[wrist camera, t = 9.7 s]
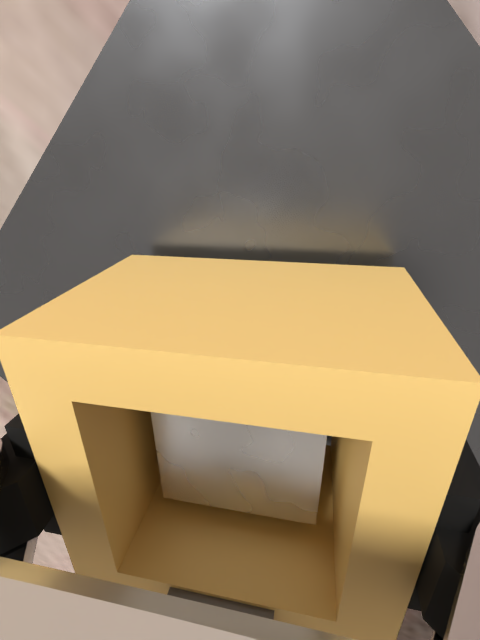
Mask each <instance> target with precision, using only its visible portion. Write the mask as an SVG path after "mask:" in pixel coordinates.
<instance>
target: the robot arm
mask: <svg viewBox="0 0 480 640" xmlns="http://www.w3.org/2000/svg"><path fill="white" fill-rule="evenodd" d="M5 429H6V431H7V434H6V435H4V436H3V437H2V438H1V439H0V640H356V639H352V638H348V637H344V636H339V635H335V634H331V633H327V632H323V631H318V630H314V629H310V628H306V627H302V626H297V625H293V624H289V623H285V622H281V621H276V620H272V619H268V618H264V617H260V616H255V615H251V614H247V613H243V612H238V611H234V610H230V609H226V608H222V607H217V606H213V605H209V604H205V603H200V602H196V601H192V600H187V599H183V598H179V597H174V596H170V595H166V594H162V593H157V592H153V591H149V590H144V589H140V588H136V587H131V586H127V585H123V584H118V583H114V582H110V581H105V580H101V579H97V578H92V577H88V576H84V575H79V574H75V573H71V572H66V571H62V570H57V569H53V568H49V567H44V566H40V565H35V564H32V563H33V558H34V553H35V548H36V544H37V539H38V536H39V535H40V533H41V532H42V531H43V529H44V530H45V532H50V533H55V534H60V535H62V534H61V531H60V528H59V525H58V522H57V519H56V517H55V514H54V511H53V508H52V505H51V502H50V500H49V497H48V494H47V491H46V488H45V485H44V483H43V480H42V477H41V474H40V471H39V468H38V466H37V463H36V460H35V457H34V454H33V451H32V449H31V446H30V443H29V440H28V437H27V434H26V432H25V429H24V426H23V423H22V420H21V417H20V415H19V414H18V415H17V416H16V417H14V418H13V419H12V420H11V421H10V422H9V423H8V424H6V425H5ZM407 608H410V609H414V610H419V611H422V616H423V619H424V620H425V621H426V622H427V623H428V624H429V625H430V626H431V627H432V629H433V630H434V631H433V634H432V637H431V640H480V466H479V464H478V462H477V460H476V458H475V456H474V454H473V452H472V450H471V448H470V446H469V444H468V442H467V440H466V441H465V444H464V447H463V449H462V452H461V455H460V458H459V461H458V464H457V467H456V469H455V472H454V475H453V478H452V481H451V484H450V487H449V490H448V492H447V495H446V498H445V501H444V504H443V507H442V510H441V512H440V515H439V518H438V521H437V524H436V527H435V530H434V533H433V535H432V538H431V541H430V544H429V547H428V550H427V553H426V555H425V558H424V561H423V564H422V567H421V570H420V573H419V576H418V578H417V581H416V584H415V587H414V590H413V593H412V596H411V598H410V601H409V604H408V607H407Z"/></svg>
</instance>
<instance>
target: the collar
mask: <svg viewBox="0 0 480 640" xmlns="http://www.w3.org/2000/svg"><path fill="white" fill-rule="evenodd" d="M0 361H1V364H2V367H3V369H4V372H5V375H6V378H7V381H8V384H9V386H10V389H11V392H12V395H13V398H14V400H15V403H16V406H17V409H18V412H19V415H20V417H21V420H22V423H23V426H24V429H25V432H26V434H27V437H28V440H29V443H30V446H31V449H32V451H33V454H34V457H35V460H36V463H37V466H38V468H39V471H40V474H41V477H42V480H43V483H44V485H45V488H46V491H47V494H48V497H49V500H50V502H51V505H52V508H53V511H54V514H55V517H56V519H57V522H58V525H59V528H60V531H61V534H62V536H63V539H64V542H65V545H66V548H67V551H68V553H69V556H70V559H71V562H72V565H73V568H74V570H75V573H76V574H79V575H84V576H88V577H92V578H97V579H101V580H105V581H110V582H114V583H118V584H123V585H127V586H131V587H136V588H140V589H144V590H149V591H153V592H157V593H162V594H166V595H170V596H174V597H179V598H183V599H187V600H192V601H196V602H200V603H205V604H209V605H213V606H217V607H222V608H226V609H230V610H234V611H238V612H243V613H247V614H251V615H255V616H260V617H264V618H268V619H272V620H276V621H281V622H285V623H289V624H293V625H297V626H302V627H306V628H310V629H314V630H318V631H323V632H327V633H331V634H335V635H339V636H344V637H348V638H352V639H356V640H396V639H397V636H398V633H399V630H400V627H401V624H402V621H403V618H404V616H405V613H406V610H407V607H408V604H409V601H410V598H411V596H412V593H413V590H414V587H415V584H416V581H417V578H418V576H419V573H420V570H421V567H422V564H423V561H424V558H425V555H426V553H427V550H428V547H429V544H430V541H431V538H432V535H433V533H434V530H435V527H436V524H437V521H438V518H439V515H440V512H441V510H442V507H443V504H444V501H445V498H446V495H447V492H448V490H449V487H450V484H451V481H452V478H453V475H454V472H455V469H456V467H457V464H458V461H459V458H460V455H461V452H462V449H463V447H464V444H465V441H466V438H467V435H468V432H469V429H470V426H471V424H472V421H473V418H474V415H475V412H476V409H477V406H478V404H479V401H480V375H479V374H478V372H477V371H476V369H475V368H474V367H473V365H472V364H471V362H470V361H469V359H468V358H467V357H466V355H465V354H464V352H463V351H462V349H461V348H460V347H459V345H458V344H457V342H456V341H455V339H454V338H453V337H452V335H451V334H450V332H449V331H448V329H447V328H446V327H445V325H444V324H443V322H442V321H441V319H440V318H439V317H438V315H437V314H436V312H435V311H434V309H433V308H432V307H431V305H430V304H429V302H428V301H427V299H426V298H425V297H424V295H423V294H422V292H421V291H420V289H419V288H418V286H417V285H416V284H415V282H414V281H413V279H412V278H411V276H410V275H409V274H408V272H407V271H406V269H405V268H404V267H383V266H361V265H340V264H319V263H298V262H276V261H255V260H234V259H213V258H191V257H170V256H149V255H131V256H129V257H127V258H125V259H124V260H122V261H120V262H118V263H116V264H115V265H113V266H111V267H109V268H108V269H106V270H104V271H102V272H101V273H99V274H97V275H95V276H94V277H92V278H90V279H88V280H86V281H85V282H83V283H81V284H79V285H78V286H76V287H74V288H72V289H71V290H69V291H67V292H65V293H64V294H62V295H60V296H58V297H57V298H55V299H53V300H51V301H49V302H48V303H46V304H44V305H42V306H41V307H39V308H37V309H35V310H34V311H32V312H30V313H28V314H27V315H25V316H23V317H21V318H19V319H18V320H16V321H14V322H12V323H11V324H9V325H7V326H5V327H4V328H2V329H0ZM151 412H155V413H163V414H170V415H178V416H185V417H193V418H200V419H208V420H215V421H223V422H230V423H238V424H245V425H253V426H260V427H268V428H275V429H283V430H290V431H298V432H305V433H313V434H320V435H328V436H332V439H331V446H330V445H326V448H325V456H324V464H323V472H322V480H321V488H320V496H319V504H318V512H317V520H316V525H313V524H307V523H302V522H296V521H291V520H285V519H279V518H274V517H268V516H263V515H257V514H252V513H246V512H241V511H235V510H229V509H224V508H218V507H213V506H207V505H202V504H196V503H190V502H185V501H179V500H174V499H168V498H164V497H163V491H162V484H161V478H160V471H159V464H158V458H157V451H156V445H155V438H154V432H153V425H152V418H151Z"/></svg>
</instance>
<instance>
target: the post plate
mask: <svg viewBox="0 0 480 640" xmlns="http://www.w3.org/2000/svg"><path fill="white" fill-rule="evenodd" d="M131 255H149V256H170V257H191V258H213V259H234V260H255V261H276V262H298V263H319V264H340V265H361V266H383V267H404V268H405V269H406V271H407V272H408V274H409V275H410V276H411V278H412V279H413V281H414V282H415V284H416V285H417V286H418V288H419V289H420V291H421V292H422V294H423V295H424V297H425V298H426V299H427V301H428V302H429V304H430V305H431V307H432V308H433V309H434V311H435V312H436V314H437V315H438V317H439V318H440V319H441V321H442V322H443V324H444V325H445V327H446V328H447V329H448V331H449V332H450V334H451V335H452V337H453V338H454V339H455V341H456V342H457V344H458V345H459V347H460V348H461V349H462V351H463V352H464V354H465V355H466V357H467V358H468V359H469V361H470V362H471V364H472V365H473V367H474V368H475V369H476V371H477V372H478V374H479V375H480V46H479V45H478V44H477V42H476V41H475V39H474V38H473V37H472V35H471V34H470V32H469V31H468V29H467V28H466V27H465V25H464V24H463V22H462V21H461V19H460V18H459V17H458V15H457V14H456V12H455V11H454V9H453V8H452V7H451V5H450V4H449V2H448V1H447V0H130V1H129V3H128V5H127V7H126V8H125V10H124V12H123V14H122V15H121V17H120V19H119V21H118V23H117V24H116V26H115V28H114V30H113V31H112V33H111V35H110V37H109V39H108V40H107V42H106V44H105V46H104V47H103V49H102V51H101V53H100V54H99V56H98V58H97V60H96V62H95V63H94V65H93V67H92V69H91V70H90V72H89V74H88V76H87V77H86V79H85V81H84V83H83V85H82V86H81V88H80V90H79V92H78V93H77V95H76V97H75V99H74V100H73V102H72V104H71V106H70V108H69V109H68V111H67V113H66V115H65V116H64V118H63V120H62V122H61V123H60V125H59V127H58V129H57V131H56V132H55V134H54V136H53V138H52V139H51V141H50V143H49V145H48V146H47V148H46V150H45V152H44V154H43V155H42V157H41V159H40V161H39V162H38V164H37V166H36V168H35V169H34V171H33V173H32V175H31V177H30V178H29V180H28V182H27V184H26V185H25V187H24V189H23V191H22V193H21V194H20V196H19V198H18V200H17V201H16V203H15V205H14V207H13V208H12V210H11V212H10V214H9V216H8V217H7V219H6V221H5V223H4V224H3V226H2V228H1V230H0V329H2V328H4V327H5V326H7V325H9V324H11V323H12V322H14V321H16V320H18V319H19V318H21V317H23V316H25V315H27V314H28V313H30V312H32V311H34V310H35V309H37V308H39V307H41V306H42V305H44V304H46V303H48V302H49V301H51V300H53V299H55V298H57V297H58V296H60V295H62V294H64V293H65V292H67V291H69V290H71V289H72V288H74V287H76V286H78V285H79V284H81V283H83V282H85V281H86V280H88V279H90V278H92V277H94V276H95V275H97V274H99V273H101V272H102V271H104V270H106V269H108V268H109V267H111V266H113V265H115V264H116V263H118V262H120V261H122V260H124V259H125V258H127V257H129V256H131ZM0 376H1V377H2V378H3V379H4V380H5V381H7V378H6V375H5V372H4V369H3V367H2V364H1V361H0ZM7 382H8V381H7ZM151 418H152V425H153V432H154V438H155V445H156V451H157V458H158V464H159V471H160V478H161V484H162V491H163V497H164V498H168V499H174V500H179V501H185V502H190V503H196V504H202V505H207V506H213V507H218V508H224V509H229V510H235V511H241V512H246V513H252V514H257V515H263V516H268V517H274V518H279V519H285V520H291V521H296V522H302V523H307V524H313V525H316V520H317V512H318V504H319V496H320V488H321V480H322V472H323V464H324V456H325V448H326V445H330V446H331V439H332V436H328V435H320V434H313V433H305V432H298V431H290V430H283V429H275V428H268V427H260V426H253V425H245V424H238V423H230V422H223V421H215V420H208V419H200V418H193V417H185V416H178V415H170V414H163V413H155V412H151ZM466 440H467V442H468V444H469V446H470V448H471V450H472V452H473V454H474V456H475V458H476V460H477V462H478V464H479V466H480V401H479V404H478V406H477V409H476V412H475V415H474V418H473V421H472V424H471V426H470V429H469V432H468V435H467V438H466Z"/></svg>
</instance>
